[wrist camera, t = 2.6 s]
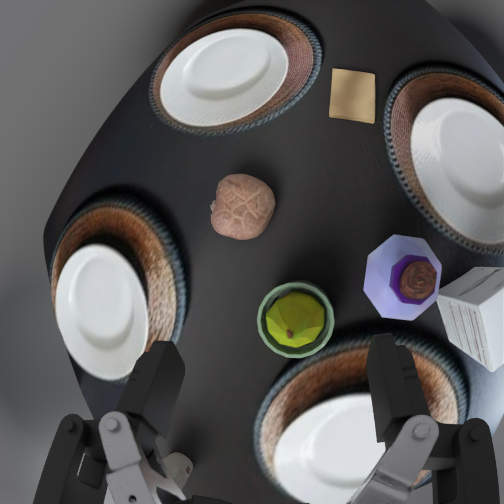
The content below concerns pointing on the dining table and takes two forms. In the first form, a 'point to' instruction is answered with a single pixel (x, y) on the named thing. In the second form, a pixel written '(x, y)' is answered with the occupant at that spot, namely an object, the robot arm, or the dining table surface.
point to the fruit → (295, 319)
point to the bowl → (322, 336)
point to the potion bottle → (402, 277)
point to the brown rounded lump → (242, 207)
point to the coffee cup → (178, 468)
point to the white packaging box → (476, 314)
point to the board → (352, 96)
